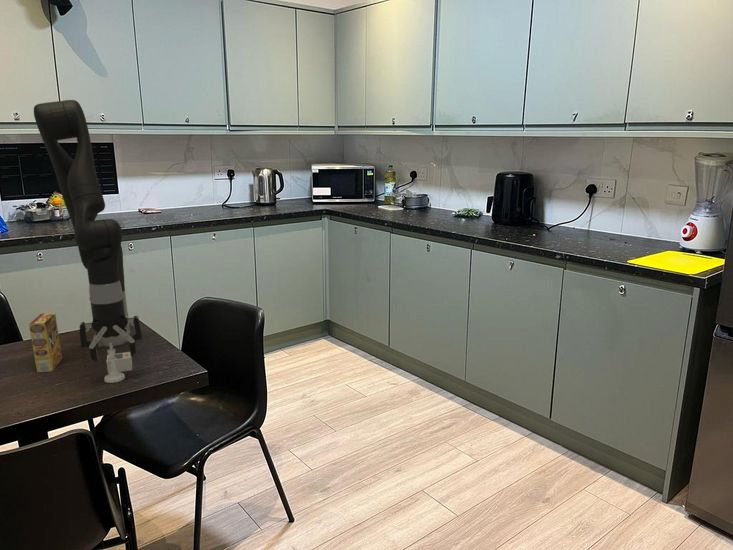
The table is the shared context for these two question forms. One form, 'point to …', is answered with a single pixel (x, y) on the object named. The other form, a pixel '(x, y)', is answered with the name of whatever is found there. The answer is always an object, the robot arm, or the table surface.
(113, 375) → the chess piece
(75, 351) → the table surface
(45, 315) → the candy box
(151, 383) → the table surface
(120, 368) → the digital timer
